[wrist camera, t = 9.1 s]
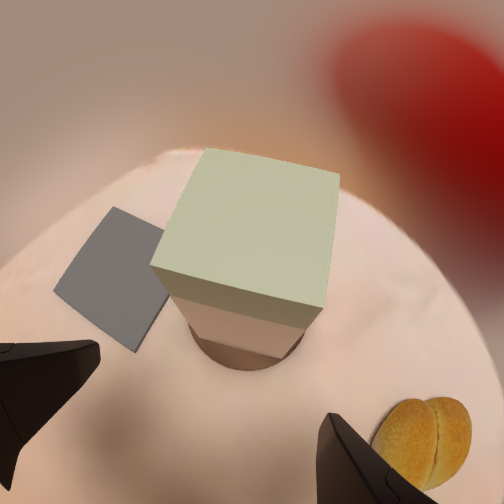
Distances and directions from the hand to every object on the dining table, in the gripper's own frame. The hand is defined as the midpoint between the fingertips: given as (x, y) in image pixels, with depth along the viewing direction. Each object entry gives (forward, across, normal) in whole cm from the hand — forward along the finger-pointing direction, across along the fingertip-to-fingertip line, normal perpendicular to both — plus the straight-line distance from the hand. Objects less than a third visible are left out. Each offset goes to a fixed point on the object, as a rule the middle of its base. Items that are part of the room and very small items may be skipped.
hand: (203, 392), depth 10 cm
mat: (+12, -11, -2) cm, 17 cm away
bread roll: (+7, +16, -9) cm, 20 cm away
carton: (+12, 0, -2) cm, 12 cm away
